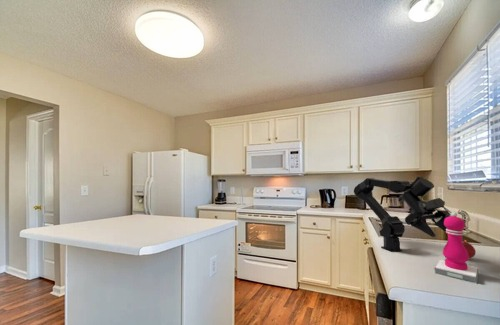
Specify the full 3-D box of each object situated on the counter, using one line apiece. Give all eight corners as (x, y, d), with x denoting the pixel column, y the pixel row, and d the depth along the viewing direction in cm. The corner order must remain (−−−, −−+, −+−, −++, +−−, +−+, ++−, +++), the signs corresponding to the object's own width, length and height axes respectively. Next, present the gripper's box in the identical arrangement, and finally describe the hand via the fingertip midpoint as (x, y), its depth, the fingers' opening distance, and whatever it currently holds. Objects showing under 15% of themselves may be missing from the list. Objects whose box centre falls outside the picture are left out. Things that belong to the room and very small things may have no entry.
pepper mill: (470, 272, 80) (467, 214, 81) (443, 267, 85) (441, 212, 86) (468, 266, 86) (466, 212, 87) (443, 261, 91) (441, 210, 92)
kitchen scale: (435, 273, 85) (434, 267, 85) (439, 265, 93) (439, 259, 93) (476, 283, 77) (476, 276, 77) (478, 273, 85) (478, 267, 85)
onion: (479, 262, 96) (478, 242, 96) (463, 261, 97) (462, 241, 98) (469, 257, 102) (468, 238, 102) (454, 256, 103) (453, 238, 103)
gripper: (410, 191, 93) (440, 225, 82) (445, 191, 98) (477, 222, 87) (394, 208, 100) (419, 241, 89) (426, 207, 105) (454, 238, 94)
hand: (443, 235), depth 90 cm, fingers open, 9 cm apart
